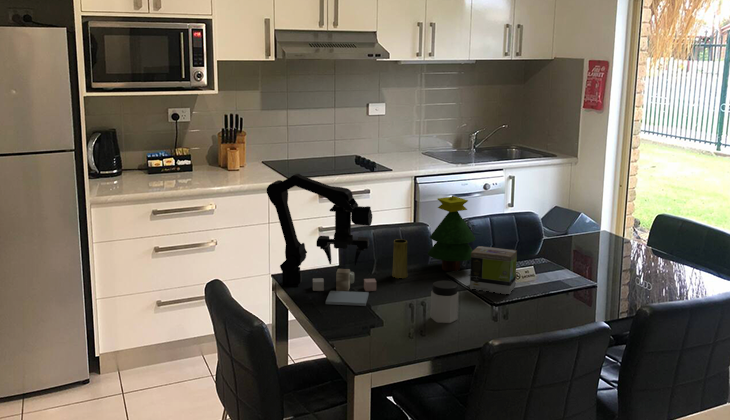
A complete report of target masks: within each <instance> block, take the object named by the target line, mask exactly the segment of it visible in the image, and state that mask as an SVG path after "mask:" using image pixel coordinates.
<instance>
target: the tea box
mask: <svg viewBox="0 0 730 420" xmlns="http://www.w3.org/2000/svg"><path fill="white" fill-rule="evenodd" d="M472 250H473V251H472V252H471V259H470V272H469V275H470V276H469V289H470V290H472V289H476V290H475V291H479V290H483V291H482V292H486V291H489V292H488V293H493V292H495V293H494V294H500V293H501V295H506V294H509V295H510V294H511V293H512V292H513V291H514V289H515V288H516V280H517V261H518V260H517V258H518V255H517V254H518V250H516V249H507V248H498V247H490V246H482V245H481V246H480V245H478V246H477V247H476V248H474V249H472ZM514 287H515V288H514ZM512 290H513V291H512ZM511 291H512V292H511Z"/></svg>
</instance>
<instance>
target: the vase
mask: <svg viewBox="0 0 730 420" xmlns="http://www.w3.org/2000/svg"><path fill="white" fill-rule="evenodd" d="M392 251H393V254H392V255H393V256H392V272H391V273H392V274H391V276H392V277H393V278H394V277H395V279H399V278H402V279H406V278H408V276H409V274H408V240H406V239H402V238H401V239H400V238H398V239H394V240H393V250H392Z"/></svg>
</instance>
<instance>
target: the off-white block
mask: <svg viewBox="0 0 730 420" xmlns="http://www.w3.org/2000/svg"><path fill="white" fill-rule="evenodd" d="M324 285H325V280H324V278H321V277H320V278H312V291H317V292H321V291H325V286H324Z"/></svg>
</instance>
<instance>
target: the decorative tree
mask: <svg viewBox="0 0 730 420" xmlns="http://www.w3.org/2000/svg"><path fill="white" fill-rule="evenodd" d="M437 201H439V202H440V203H441V204H440V205H439V206H438V207H437V208H438V209H439V210H443V211H446V212H447V214H446V215H445V216H444V218H443V219H442V220H441V221H440V223H439V224H438V225H437V227H436V228H435V229H434V231H432V233H431V235H430V236H429V238H430V239H431V240H432V241H434V242H435V243H434V244H433V246H432V247H431V248H430V249H429V250H428V251H427V255H428V256H429V257H430V258H432V259H435V260H440V261H441V270H442V271H445V272H450V271H454V272H458V271H457V270H459V271H461V262H464V261H471V252H472V251H473V250H474V249H472V247H471V245H470V244H469V243H473V242H475V241H476V239H477V238H476V237H475V234H474V233H473V232H472V231H471V229H470V228H469V226H468V224H467V223H466V221H465V220H464V218H463V216H462V215H461V214H460V213H459V212H462V211H468V208H466V207H465V206H464V205H465V204H466V203H468V202H469V200H468V199H466V198H461V197H459V196H454V195H452V196H448V197H446V196H445V197H440V198H437Z"/></svg>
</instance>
